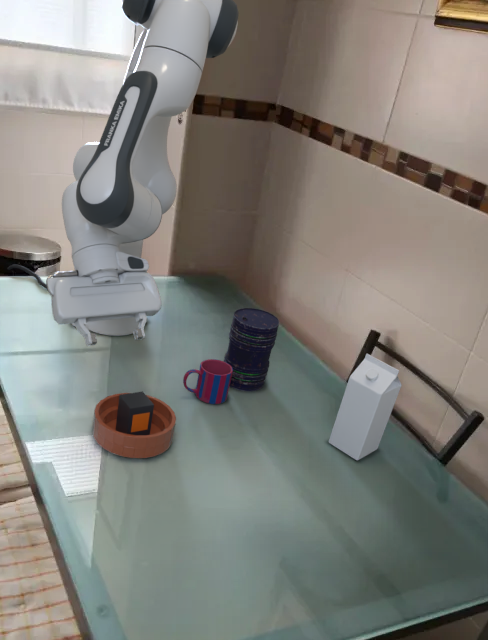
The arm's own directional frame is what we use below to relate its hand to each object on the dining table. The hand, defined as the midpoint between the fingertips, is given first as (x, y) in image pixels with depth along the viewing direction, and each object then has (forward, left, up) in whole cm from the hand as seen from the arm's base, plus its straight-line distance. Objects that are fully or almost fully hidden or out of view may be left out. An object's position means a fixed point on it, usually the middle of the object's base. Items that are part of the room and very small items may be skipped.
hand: (116, 341), depth 118 cm
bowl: (+10, 0, -14) cm, 17 cm away
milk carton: (+24, +41, -14) cm, 50 cm away
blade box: (+11, 0, -13) cm, 17 cm away
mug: (0, +20, -14) cm, 25 cm away
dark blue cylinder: (-4, +32, -14) cm, 36 cm away
